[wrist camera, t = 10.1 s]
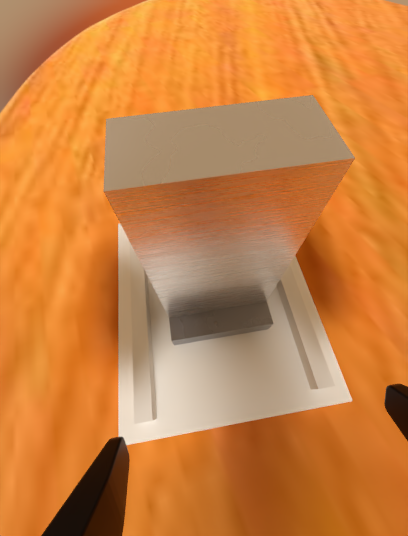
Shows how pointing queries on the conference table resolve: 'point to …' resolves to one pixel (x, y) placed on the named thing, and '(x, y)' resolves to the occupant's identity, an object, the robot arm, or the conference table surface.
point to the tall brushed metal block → (221, 204)
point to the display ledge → (218, 362)
